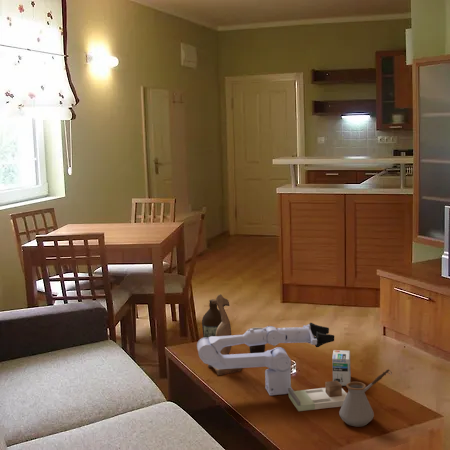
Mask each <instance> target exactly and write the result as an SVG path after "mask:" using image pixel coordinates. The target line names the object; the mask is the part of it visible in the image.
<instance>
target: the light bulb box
mask: <svg viewBox="0 0 450 450" xmlns="http://www.w3.org/2000/svg"><path fill="white" fill-rule="evenodd" d="M331 359H332V381H338V382H339V383H340V384H341V385H342V387H347V386H346V385H347V384H348V383H350V382H351V380H352V379H351V373H352V372H351V350H337V349H333V352H332V358H331Z"/></svg>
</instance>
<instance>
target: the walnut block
mask: <svg viewBox="0 0 450 450" xmlns="http://www.w3.org/2000/svg"><path fill="white" fill-rule="evenodd" d="M324 388H326V393H327V395H328V396H329V397H336V396H342V389H343V386H342V385H341V384H340V383H339V382H338V381H333V380H331V381H325V387H324Z"/></svg>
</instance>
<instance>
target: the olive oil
mask: <svg viewBox="0 0 450 450" xmlns="http://www.w3.org/2000/svg"><path fill="white" fill-rule="evenodd" d="M208 305H209V308H208V310H207V311H206V312H205V314H203V316H202V319H201V325H202V326H201V327H202V329H201V330H202V335H203V337H202V338H208V337H211V336H216V331H217V328H218V326H219V325H220V323H221V322H222V318H221V314H220V311H219V308H218V306H217V303H216V298H215V299H209V303H208Z"/></svg>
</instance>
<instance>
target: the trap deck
mask: <svg viewBox="0 0 450 450" xmlns="http://www.w3.org/2000/svg"><path fill="white" fill-rule="evenodd" d="M291 388H292V387H291ZM291 388H288V393H289V394H288V398H289V400H290V401H291V403H292V404H293V405H294V408H296V410H297V411H298V412H303V411H313V410H320V409H328V408H329V409H330V408H341V407H342V404H343V402H344V400H345V398H346V395H347V393H348V392H346V391H345V390H344V388H342V396H336V397H329V396H328V395H327V393H326V388H325V387H319V388H311V389H309V388H308V389H300V390H293V391H292V389H293V388H292V389H291Z"/></svg>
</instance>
